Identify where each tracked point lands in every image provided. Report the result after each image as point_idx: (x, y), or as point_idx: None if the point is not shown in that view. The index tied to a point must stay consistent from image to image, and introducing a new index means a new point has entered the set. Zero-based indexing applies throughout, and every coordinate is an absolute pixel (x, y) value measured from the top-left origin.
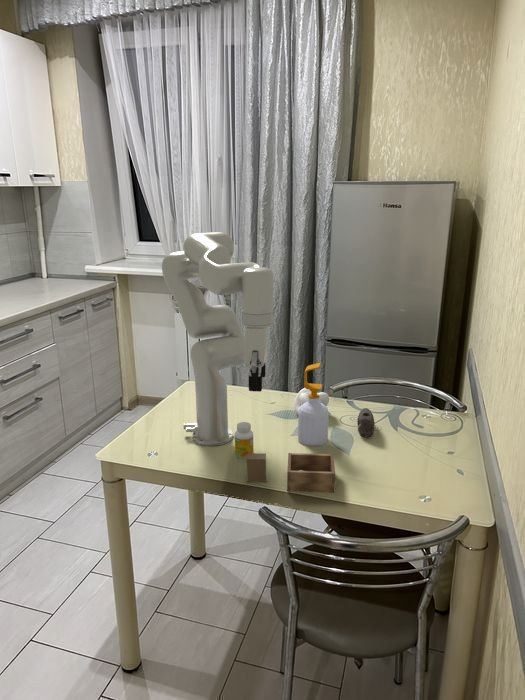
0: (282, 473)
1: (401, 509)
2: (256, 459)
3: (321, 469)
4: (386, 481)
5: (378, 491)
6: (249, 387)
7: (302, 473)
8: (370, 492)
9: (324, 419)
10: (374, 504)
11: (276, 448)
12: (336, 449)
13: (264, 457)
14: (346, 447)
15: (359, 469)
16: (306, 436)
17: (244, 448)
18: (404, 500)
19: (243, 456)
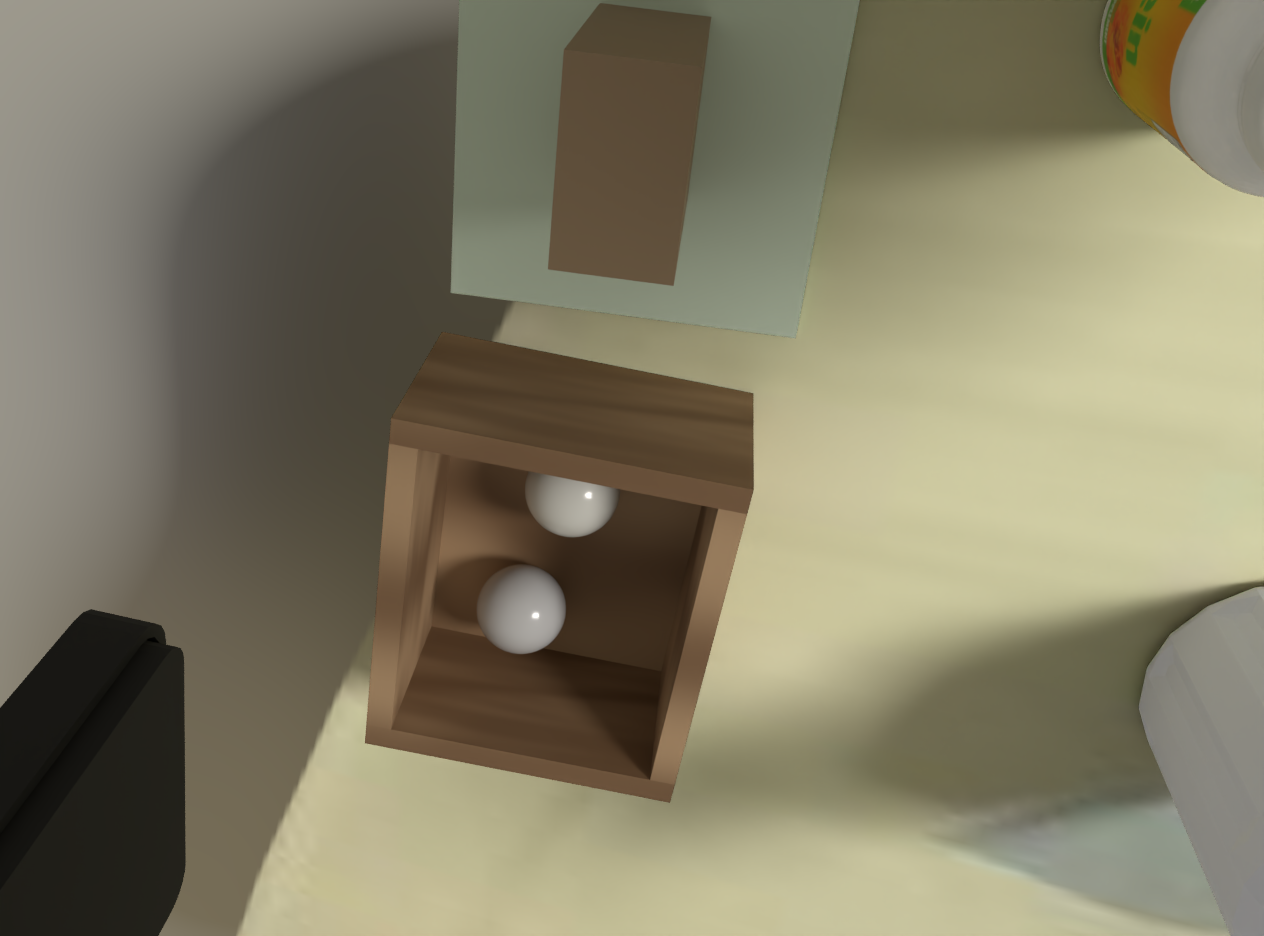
0: (751, 346)
1: (263, 888)
2: (557, 164)
3: (671, 643)
4: (555, 917)
5: (445, 851)
6: (42, 690)
7: (383, 528)
8: (436, 813)
9: (1229, 929)
10: (306, 793)
11: (1236, 369)
12: (1047, 793)
13: (583, 257)
14: (1056, 856)
15: (720, 839)
16: (1215, 675)
17: (1136, 41)
18: (351, 926)
19: (1113, 10)
